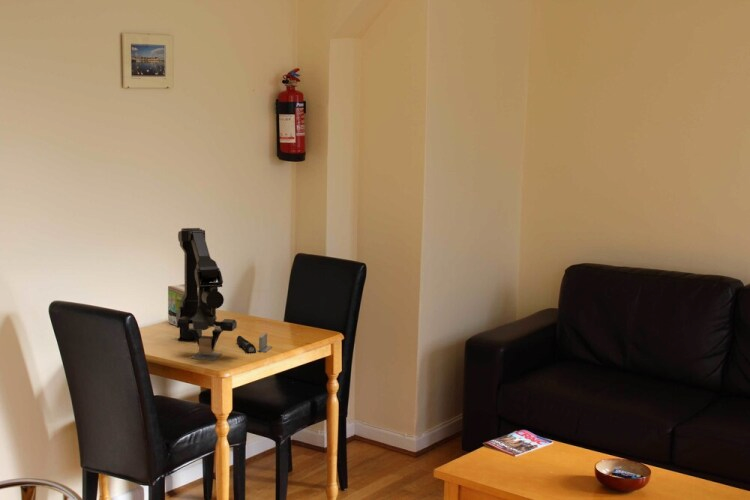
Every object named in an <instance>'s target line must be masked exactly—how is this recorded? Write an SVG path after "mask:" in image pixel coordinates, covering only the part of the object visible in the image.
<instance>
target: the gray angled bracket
mask: <svg viewBox="0 0 750 500" xmlns="http://www.w3.org/2000/svg"><path fill="white" fill-rule="evenodd" d="M258 338H259V339H258V350H257V353H268V351H270V350H271V349H272V345H271V346H270V345H268V332H264V333H262V334H261V335H260V336H259V337H258Z"/></svg>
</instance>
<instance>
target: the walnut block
mask: <svg viewBox="0 0 750 500" xmlns="http://www.w3.org/2000/svg"><path fill="white" fill-rule="evenodd" d="M212 337H213V335H202V337H200V338H199V346H198V352H199V353H202V354H211V353H215V349H214V350H212Z"/></svg>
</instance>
